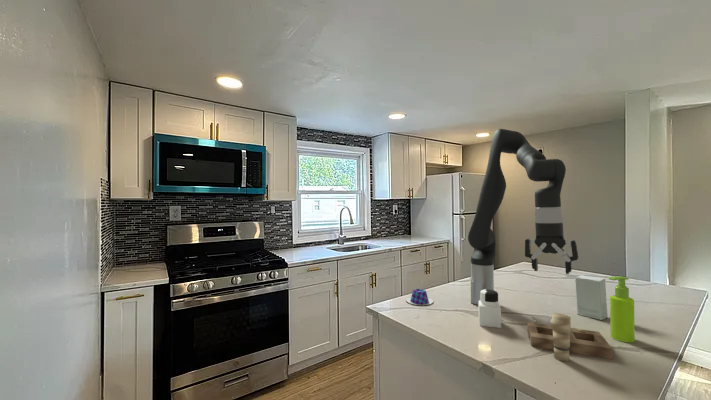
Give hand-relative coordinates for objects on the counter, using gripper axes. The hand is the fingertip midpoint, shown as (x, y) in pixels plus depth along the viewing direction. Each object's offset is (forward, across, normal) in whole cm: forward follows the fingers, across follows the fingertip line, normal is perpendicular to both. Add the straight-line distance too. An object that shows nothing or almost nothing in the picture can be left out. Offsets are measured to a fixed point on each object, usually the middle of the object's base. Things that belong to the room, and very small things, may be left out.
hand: (551, 272), depth 98 cm
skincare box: (+23, +8, +34) cm, 42 cm away
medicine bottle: (+22, -21, +2) cm, 30 cm away
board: (+22, +3, 0) cm, 22 cm away
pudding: (+21, -52, +8) cm, 57 cm away
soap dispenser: (+23, +16, +16) cm, 32 cm away
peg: (+22, +3, -11) cm, 25 cm away
